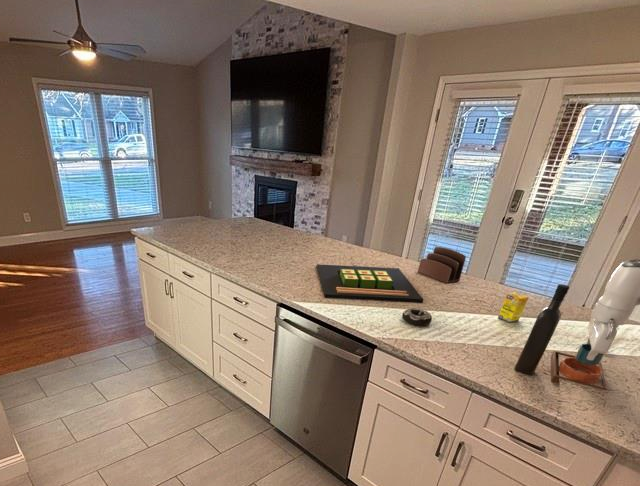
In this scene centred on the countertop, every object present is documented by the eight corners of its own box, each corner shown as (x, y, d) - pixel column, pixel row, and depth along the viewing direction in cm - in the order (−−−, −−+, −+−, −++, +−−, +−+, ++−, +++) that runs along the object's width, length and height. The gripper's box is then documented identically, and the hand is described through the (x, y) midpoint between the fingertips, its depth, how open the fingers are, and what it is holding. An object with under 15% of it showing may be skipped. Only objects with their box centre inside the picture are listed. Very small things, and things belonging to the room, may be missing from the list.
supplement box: (497, 318, 178) (506, 293, 172) (506, 315, 180) (515, 292, 174) (509, 323, 173) (519, 299, 167) (518, 321, 176) (529, 297, 170)
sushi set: (324, 297, 190) (325, 288, 187) (316, 267, 227) (317, 259, 225) (422, 302, 189) (424, 293, 187) (397, 271, 227) (399, 263, 225)
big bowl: (593, 376, 139) (601, 363, 137) (596, 391, 131) (604, 378, 128) (555, 366, 144) (562, 354, 141) (556, 381, 136) (562, 368, 133)
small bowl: (597, 359, 135) (604, 347, 132) (599, 368, 130) (606, 355, 127) (574, 354, 137) (580, 342, 135) (574, 362, 133) (581, 350, 130)
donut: (432, 329, 166) (435, 319, 164) (402, 325, 168) (404, 316, 166) (428, 317, 176) (430, 308, 173) (400, 314, 177) (402, 305, 175)
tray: (597, 368, 144) (600, 362, 143) (602, 395, 130) (606, 389, 128) (550, 356, 150) (553, 350, 149) (550, 381, 135) (554, 375, 134)
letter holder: (429, 270, 231) (436, 244, 223) (459, 281, 217) (468, 254, 209) (417, 272, 227) (423, 246, 219) (447, 283, 213) (455, 256, 205)
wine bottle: (535, 370, 141) (576, 286, 125) (531, 376, 138) (573, 290, 121) (517, 364, 144) (555, 281, 128) (513, 370, 141) (551, 285, 124)
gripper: (628, 329, 116) (603, 370, 124) (619, 306, 131) (597, 344, 138) (601, 323, 119) (578, 364, 126) (595, 301, 133) (575, 339, 141)
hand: (588, 353), depth 132 cm, fingers closed on small bowl, 6 cm apart
